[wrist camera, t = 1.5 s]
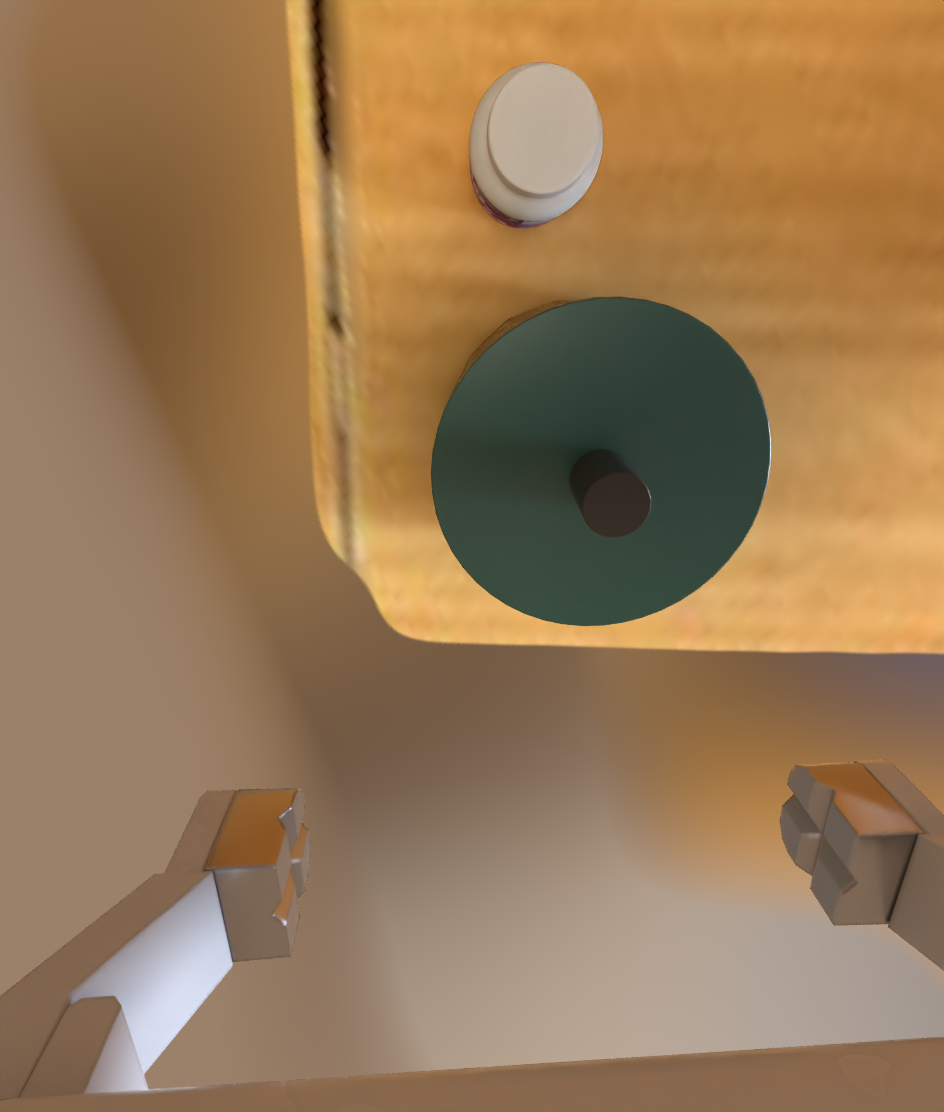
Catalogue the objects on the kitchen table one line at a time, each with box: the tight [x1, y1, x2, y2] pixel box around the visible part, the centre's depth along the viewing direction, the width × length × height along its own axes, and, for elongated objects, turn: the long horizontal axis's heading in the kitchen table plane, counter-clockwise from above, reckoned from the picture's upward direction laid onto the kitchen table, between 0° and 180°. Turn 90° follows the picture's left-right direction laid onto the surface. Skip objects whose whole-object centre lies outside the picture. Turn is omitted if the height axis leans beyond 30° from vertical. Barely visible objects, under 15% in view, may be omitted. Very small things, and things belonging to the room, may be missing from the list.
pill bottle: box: [469, 62, 603, 229], centre depth 27 cm, size 5×5×10 cm
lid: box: [431, 297, 771, 626], centre depth 26 cm, size 14×14×5 cm
